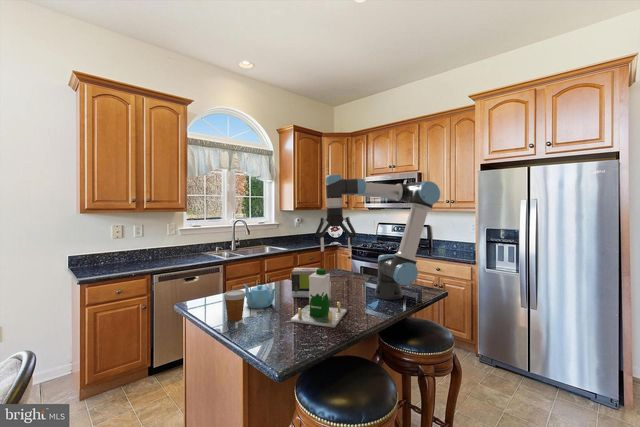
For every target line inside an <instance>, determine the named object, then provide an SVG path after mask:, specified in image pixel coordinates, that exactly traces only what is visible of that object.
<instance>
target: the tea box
mask: <svg viewBox="0 0 640 427" xmlns="http://www.w3.org/2000/svg"><path fill="white" fill-rule="evenodd" d="M317 269H321V268H320V267H294V268H293V269H292V270H291V271H290V272H291V297H292V298H309V276H310V275H311V274H313V273H317Z"/></svg>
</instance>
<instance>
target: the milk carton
mask: <svg viewBox="0 0 640 427" xmlns="http://www.w3.org/2000/svg"><path fill="white" fill-rule="evenodd" d="M330 275H331V274H330V273H327V272H326V269H325V268H320V269H317V273H313V274H311V275H310V276H309V297H308V305H309V306H310V315H311V316H318V317H325V316H326V315H327V314H328V312H329V307H330V305H331V304H330V299H331V296H330V295H331V294H330V291H331V290H330V289H331V288H330V286H331V285H330V283H331V282H330V280H331V279H330V278H331V276H330ZM309 302H310V304H309Z"/></svg>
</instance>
